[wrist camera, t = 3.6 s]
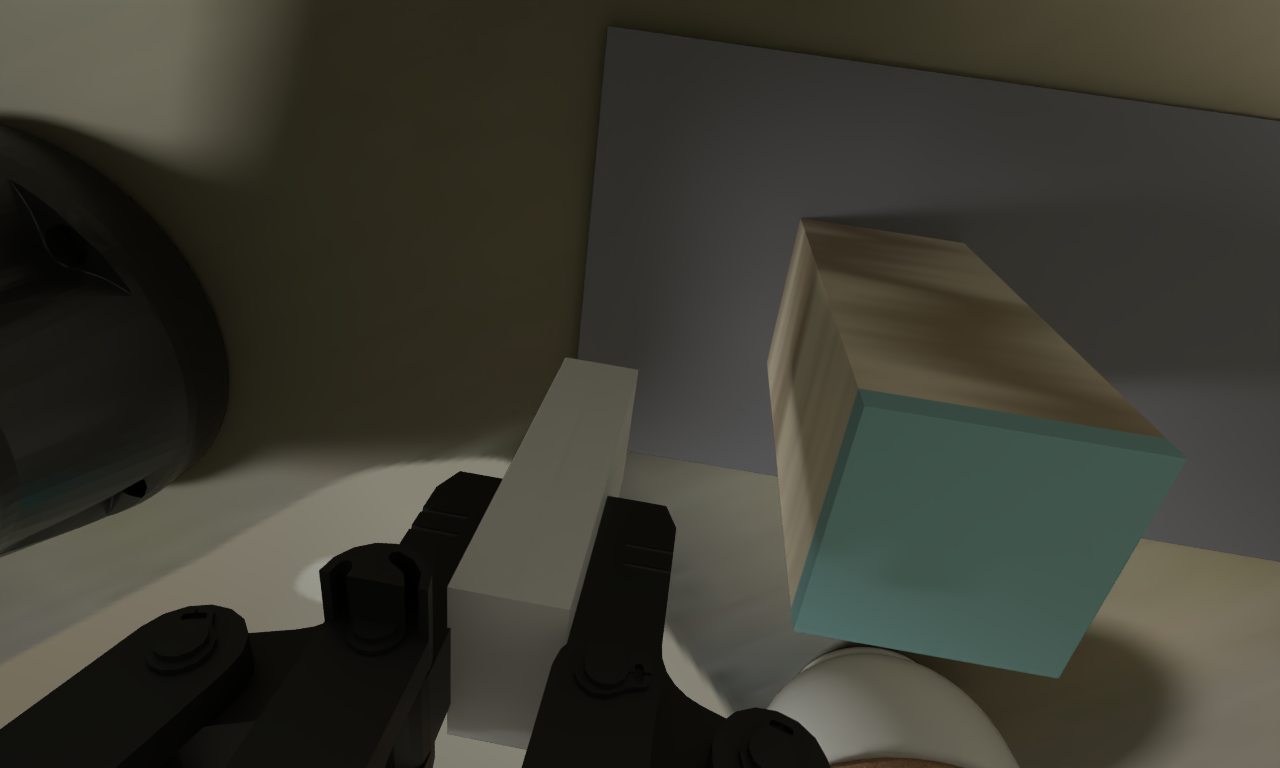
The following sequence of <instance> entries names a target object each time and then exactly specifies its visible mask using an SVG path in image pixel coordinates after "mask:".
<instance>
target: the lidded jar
mask: <svg viewBox="0 0 1280 768" xmlns="http://www.w3.org/2000/svg"><path fill="white" fill-rule="evenodd" d="M767 709H768V710H774V711H778V712H780V713H782V714H784V715H786V716H788V717H790V718H792V719H794V720H796V721H798V722H799V723H800V724H801V725H802V726H803V727H804V728H806V729H807V730H808V731H809V732H810V733H811V734H812V735H813V736H814V737H815V738H816V740H817V741H818V743H819V745H820V747H821V748H822V750H823V752H824V754H825V755H826V757H827V759H828V762H829V765H830V767H831V768H1020V767H1019V765H1018V763H1017V761H1016V759H1015V757H1014V756H1013V754H1012V752H1011V750H1010V748H1009V747H1008V745H1007V744H1006V742H1005V740H1004V739H1003V737H1002V736H1001V734H1000V733H999V731H998V730H997V728H996V727H995V725H994V724H993V722H992V721H991V720H990V718H989V717H988V716H987V715H986V713H985V712H984V711H983V710H982V709H981V708H980V707H979V706H978V705H977V704H976V703H975V702H974V701H973V700H972V699H971V698H970V697H969V696H968V694H967V693H966V692H964V691H963V690H961V689H960V688H959V687H957V686H956V685H955V684H953V683H952V682H951V681H949V680H948V679H947V678H945V677H944V676H943V675H941V674H939V673H937V672H935V671H933V670H931V669H929V668H927V667H925V666H923V665H921V664H918V663H916V662H915V661H913V660H912V659H910V658H908V657H906V656H905V655H903V654H900V653H897V652H894V651H891V650H887V649H883V648H876V647H850V648H844V649H839V650H835V651H832V652H829V653H826V654H824V655H822V656H820V657H818V658H816V659H815V660H813V661H812V662H810V663H809V664H808V665H807V666H806V667H805V668H803V669H802V671H801V672H800V673H799V674H798V675H797V676H795V677H794V678H793V679H792V680H791V681H789V682H788V683H787V684H786V685H785V686H784V687H783V688H782V689H781V690H780V691H779V693H778V694H777V695H776V697H775V698H774V699H773V701H772V702H771V704H770V705H769V706H768V708H767Z"/></svg>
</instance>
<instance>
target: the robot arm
mask: <svg viewBox="0 0 1280 768" xmlns="http://www.w3.org/2000/svg"><path fill="white" fill-rule="evenodd" d="M637 377H638V370H637V369H631V368H625V367H619V366H614V365H608V364H602V363H596V362H590V361H584V360H578V359H572V358H566V357H565V359H564V361H563V363H562V365H561V367H560V369H559V371H558V373H557V375H556V377H555V379H554V381H553V382H552V384H551V386H550V388H549V390H548V392H547V394H546V396H545V398H544V400H543V402H542V404H541V406H540V408H539V410H538V412H537V414H536V416H535V417H534V419H533V421H532V423H531V425H530V427H529V429H528V431H527V433H526V435H525V437H524V439H523V441H522V443H521V445H520V447H519V449H518V450H517V452H516V454H515V456H514V458H513V460H512V462H511V464H510V466H509V468H508V470H507V472H506V474H505V476H504V478H503V479H501V478H495V477H490V476H483V475H479V474H473V473H467V472H462V471H460V472H458V473H456V474H455V475H454V476H452V477H451V478H449V479H448V480H446V481H445V482H443V483H442V484H440V485H439V486H437V487H436V489H435V490H434V492H433V493H432V495H431V496H430V498H429V499H428V501H427V502H426V504H425V505H424V507H423V511H422V512H420V513H419V515H418V516H417V518H416V519H415V521H414V522H413V524H412V528H411V529H409V530H408V532H407V533H406V535H405V536H404V538H403V539H402V541H401V542H400V544H388V543H373V544H368V545H363V546H359V547H354V548H352V549H350V550H348V551H345V552H343V553H341V554H339V555H337V556H335V557H333V558H332V559H331V560H330V561H329V562H328V563H327V564H326V565H325V566H324V567H323V568H321V569H320V570H319V574H320V583H321V591H322V600H323V609H324V618H325V622H324V623H323V624H320V625H317V626H315V627H309V628H302V629H296V630H284V631H271V632H259V633H248V630H247V627H246V623H245V620H244V618H242V617H241V616H240V615H238V614H237V613H236V612H235V611H233V610H232V609H229V608H224V607H220V606H216V605H201V606H188V607H185V608H181V609H178V610H175V611H172V612H168V613H165V614H163V615H161V616H159V617H158V618H156V619H154V620H152V621H150V622H149V623H147V624H145V625H143V626H142V627H140V628H139V629H137V630H136V631H135V632H133V633H132V634H131V635H129V636H128V637H126V638H125V639H124V640H122V641H121V642H119V643H118V644H117V645H115V646H114V647H113V648H111V649H110V650H109V651H107V652H106V653H104V654H103V655H102V656H100V657H99V658H97V659H96V660H95V661H93V662H92V663H91V664H89V665H88V666H87V667H85V668H84V669H82V670H81V671H80V672H78V673H77V674H75V675H74V676H73V677H71V678H70V679H69V680H67V681H66V682H65V683H63V684H62V685H60V686H59V687H58V688H56V689H55V690H53V691H52V692H51V693H49V694H48V695H47V696H45V697H44V698H43V699H41V700H40V701H38V702H37V703H36V704H34V705H33V706H32V707H30V708H29V709H27V710H26V711H25V712H23V713H22V714H21V715H19V716H18V717H16V718H15V719H14V720H12V721H11V722H10V723H8V724H7V725H6V726H4V727H3V728H2V729H0V768H433V764H434V758H435V744H434V743H435V740H436V737H437V735H438V732H439V730H440V728H441V725H442V723H443V721H444V718H445V716H446V713H447V733H448V734H450V735H455V736H460V737H465V738H470V739H475V740H480V741H485V742H490V743H495V744H500V745H505V746H510V747H515V748H520V749H525V750H527V751H526V755H525V758H524V762H523V765H522V768H831V767H830V765H829V762H828V759H827V757H826V755H825V754H824V752H823V750H822V748H821V747H820V745H819V743H818V741H817V740H816V738H815V737H814V736H813V735H812V734H811V733H810V732H809V731H808V730H807V729H806V728H804V727H803V726H802V725H801V724H800V723H799V722H798V721H796V720H794V719H792V718H790V717H788V716H786V715H784V714H782V713H780V712H778V711H774V710H768V709H761V708H751V709H746V710H741V711H737V712H735V713H733V714H732V715H731V716H729V717H728V718H727V719H726V718H724V717H722V716H720V715H718V714H716V713H714V712H712V711H710V710H708V709H707V708H705V707H703V706H701V705H699V704H698V703H696V702H694V701H693V700H691V699H690V698H688V697H687V696H686V695H685V694H684V693H683V692H682V691H681V690H679V688H678V687H677V686H676V685H675V684H674V683H673V681H672V680H671V678H670V677H669V675H668V673H667V672H666V668H665V665H664V663H663V659H662V641H663V632H664V624H665V616H666V608H667V600H668V591H669V583H670V574H671V567H672V558H673V550H674V542H675V534H676V527H675V524H674V522H673V520H672V518H671V516H670V513H669V511H668V509H667V507H666V506H663V505H657V504H651V503H646V502H640V501H635V500H629V499H624V498H619V494H620V490H621V486H622V482H623V476H624V469H625V462H626V454H627V447H628V440H629V433H630V426H631V419H632V412H633V405H634V398H635V391H636V384H637ZM227 395H228V374H227V364H226V357H225V352H224V347H223V343H222V339H221V336H220V332H219V329H218V326H217V323H216V321H215V318H214V315H213V313H212V311H211V308H210V306H209V304H208V301H207V299H206V297H205V295H204V293H203V291H202V289H201V287H200V286H199V284H198V282H197V280H196V279H195V277H194V275H193V274H192V272H191V270H190V269H189V267H188V266H187V264H186V263H185V261H184V260H183V258H182V257H181V256H180V254H179V253H178V251H177V250H176V249H175V247H174V246H173V245H172V243H171V242H170V241H169V240H168V239H167V237H166V236H165V235H164V234H163V232H162V231H161V230H160V229H159V228H158V227H157V226H156V225H155V223H154V222H153V221H152V220H151V219H150V218H149V217H148V216H147V215H146V214H145V213H144V212H143V211H142V210H141V209H140V208H139V207H138V206H137V205H136V204H135V203H134V202H133V201H132V200H131V199H129V198H128V197H127V196H126V195H125V194H124V193H123V192H122V191H120V190H119V189H118V188H117V187H115V186H114V185H113V184H112V183H110V182H109V181H108V180H107V179H105V178H104V177H103V176H101V175H100V174H99V173H97V172H96V171H94V170H93V169H92V168H90V167H89V166H87V165H85V164H84V163H82V162H81V161H79V160H78V159H76V158H75V157H73V156H71V155H69V154H67V153H66V152H64V151H62V150H60V149H59V148H57V147H55V146H53V145H51V144H49V143H47V142H44V141H42V140H40V139H38V138H35V137H33V136H31V135H28V134H26V133H23V132H20V131H17V130H15V129H12V128H9V127H5V126H2V125H0V557H3V556H6V555H8V554H11V553H14V552H16V551H19V550H21V549H24V548H27V547H29V546H32V545H35V544H37V543H40V542H43V541H45V540H48V539H51V538H53V537H56V536H58V535H61V534H64V533H66V532H69V531H72V530H74V529H77V528H80V527H82V526H85V525H87V524H90V523H92V522H95V521H98V520H100V519H102V518H104V517H107V516H110V515H113V514H117V513H119V512H121V511H124V510H126V509H129V508H131V507H134V506H136V505H138V504H140V503H142V502H143V501H145V500H147V499H149V498H150V497H152V496H153V495H155V494H156V493H158V492H159V491H161V490H162V489H163V488H164V487H166V486H167V485H168V484H169V483H171V482H172V481H173V480H174V479H175V478H177V477H178V476H179V475H180V474H182V473H183V472H184V471H185V470H186V469H188V468H189V467H190V466H191V465H192V464H194V463H195V462H196V461H197V460H198V459H199V458H200V457H201V456H202V455H203V454H204V453H205V452H206V451H207V449H208V448H209V447H210V445H211V444H212V442H213V440H214V439H215V437H216V435H217V433H218V431H219V429H220V426H221V423H222V420H223V417H224V413H225V409H226V403H227Z"/></svg>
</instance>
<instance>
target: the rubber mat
mask: <svg viewBox="0 0 1280 768" xmlns="http://www.w3.org/2000/svg"><path fill="white" fill-rule="evenodd" d="M800 218H804V219H810V220H817V221H823V222H830V223H836V224H843V225H849V226H856V227H862V228H869V229H876V230H882V231H889V232H895V233H902V234H908V235H915V236H921V237H928V238H935V239H941V240H948V241H954V242H961V243H964V244H965V245H966V246H968V247H969V248H970V249H971V250H972V251H973V252H974V253H975V254H976V255H977V256H978V257H979V258H980V259H981V260H982V261H983V262H984V263H985V264H986V265H987V266H988V267H989V268H990V269H991V270H992V271H993V272H994V273H995V274H997V275H998V276H999V277H1000V278H1001V279H1002V280H1003V281H1004V282H1005V283H1006V284H1007V285H1008V286H1009V287H1010V288H1011V289H1012V290H1013V291H1014V292H1015V293H1016V294H1017V295H1018V296H1019V297H1020V298H1021V299H1022V300H1023V301H1024V302H1026V303H1027V304H1028V305H1029V306H1030V307H1031V308H1032V309H1033V310H1034V311H1035V312H1036V313H1037V314H1038V315H1039V316H1040V317H1041V318H1042V319H1043V320H1044V321H1045V322H1046V323H1047V324H1048V325H1049V326H1050V327H1051V328H1052V329H1053V330H1054V331H1056V332H1057V333H1058V334H1059V335H1060V336H1061V337H1062V338H1063V339H1064V340H1065V341H1066V342H1067V343H1068V344H1069V345H1070V346H1071V347H1072V348H1073V349H1074V350H1075V351H1076V352H1077V353H1078V354H1079V355H1080V356H1081V357H1082V358H1083V359H1085V360H1086V361H1087V362H1088V363H1089V364H1090V365H1091V366H1092V367H1093V368H1094V369H1095V370H1096V371H1097V372H1098V373H1099V374H1100V375H1101V376H1102V377H1103V378H1104V379H1105V380H1106V381H1107V382H1108V383H1109V384H1110V385H1111V386H1112V387H1114V388H1115V389H1116V390H1117V391H1118V392H1119V393H1120V394H1121V395H1122V396H1123V397H1124V398H1125V399H1126V400H1127V401H1128V402H1129V403H1130V404H1131V405H1132V406H1133V407H1134V408H1135V409H1136V410H1137V411H1138V412H1139V413H1140V414H1141V415H1143V416H1144V417H1145V418H1146V419H1147V420H1148V421H1149V422H1150V423H1151V424H1152V425H1153V426H1154V427H1155V428H1156V429H1157V430H1158V431H1159V432H1160V433H1161V434H1162V435H1163V436H1164V437H1165V438H1166V439H1167V440H1168V441H1169V442H1170V443H1172V444H1173V445H1174V446H1175V447H1176V448H1177V449H1178V450H1179V451H1180V452H1181V453H1182V454H1183V455H1184V456H1185V457H1186V458H1187V461H1186V462H1185V464H1184V466H1183V467H1182V469H1181V471H1180V473H1179V474H1178V476H1177V478H1176V479H1175V481H1174V483H1173V485H1172V486H1171V488H1170V490H1169V491H1168V493H1167V495H1166V496H1165V498H1164V500H1163V502H1162V503H1161V505H1160V507H1159V508H1158V510H1157V512H1156V513H1155V515H1154V517H1153V519H1152V520H1151V522H1150V524H1149V525H1148V527H1147V529H1146V530H1145V532H1144V534H1143V536H1142V537H1141V538H1143V539H1149V540H1155V541H1161V542H1167V543H1172V544H1178V545H1184V546H1190V547H1196V548H1202V549H1208V550H1214V551H1220V552H1225V553H1231V554H1237V555H1243V556H1249V557H1255V558H1261V559H1267V560H1273V561H1278V562H1280V121H1276V120H1269V119H1262V118H1255V117H1248V116H1241V115H1234V114H1227V113H1220V112H1213V111H1206V110H1199V109H1191V108H1184V107H1177V106H1170V105H1163V104H1156V103H1149V102H1142V101H1135V100H1128V99H1121V98H1114V97H1107V96H1100V95H1093V94H1086V93H1079V92H1072V91H1065V90H1058V89H1050V88H1043V87H1036V86H1029V85H1022V84H1015V83H1008V82H1001V81H994V80H987V79H980V78H973V77H966V76H959V75H952V74H945V73H938V72H931V71H924V70H917V69H909V68H902V67H895V66H888V65H881V64H874V63H867V62H860V61H853V60H846V59H839V58H832V57H825V56H818V55H811V54H804V53H797V52H790V51H783V50H776V49H768V48H761V47H754V46H747V45H740V44H733V43H726V42H719V41H712V40H705V39H698V38H691V37H684V36H677V35H670V34H663V33H656V32H649V31H642V30H635V29H627V28H620V27H613V26H608V30H607V41H606V52H605V63H604V73H603V84H602V95H601V106H600V117H599V128H598V139H597V150H596V161H595V172H594V183H593V194H592V205H591V216H590V227H589V238H588V249H587V260H586V271H585V282H584V293H583V304H582V314H581V325H580V336H579V347H578V358H577V359H578V360H584V361H590V362H596V363H602V364H608V365H614V366H619V367H625V368H631V369H637V370H638V377H637V384H636V391H635V398H634V405H633V412H632V419H631V426H630V433H629V440H628V447H627V451H631V452H637V453H642V454H648V455H654V456H660V457H666V458H672V459H678V460H684V461H690V462H695V463H701V464H707V465H713V466H719V467H725V468H731V469H737V470H743V471H748V472H754V473H760V474H766V475H772V476H778V470H777V459H776V449H775V439H774V429H773V419H772V409H771V399H770V389H769V378H768V368H767V360H768V356H769V351H770V347H771V343H772V338H773V334H774V330H775V326H776V321H777V317H778V313H779V308H780V304H781V300H782V295H783V291H784V287H785V283H786V278H787V274H788V270H789V265H790V261H791V257H792V252H793V248H794V244H795V239H796V235H797V231H798V227H799V222H800Z"/></svg>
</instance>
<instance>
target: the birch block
mask: <svg viewBox="0 0 1280 768" xmlns="http://www.w3.org/2000/svg"><path fill="white" fill-rule="evenodd" d="M767 368H768V378H769V389H770V399H771V409H772V419H773V429H774V439H775V449H776V459H777V470H778V480H779V490H780V500H781V510H782V520H783V530H784V540H785V550H786V561H787V571H788V581H789V591H790V601H791V611H792V621H793V631H796V632H801V633H807V634H812V635H818V636H823V637H829V638H835V639H840V640H846V641H851V642H857V643H862V644H868V645H874V646H879V647H885V648H890V649H896V650H901V651H907V652H912V653H918V654H924V655H929V656H935V657H940V658H946V659H951V660H957V661H963V662H968V663H974V664H979V665H985V666H990V667H996V668H1001V669H1007V670H1013V671H1018V672H1024V673H1029V674H1035V675H1040V676H1046V677H1052V678H1057V679H1059V677H1060V675H1061V673H1062V672H1063V670H1064V668H1065V667H1066V665H1067V663H1068V662H1069V660H1070V658H1071V656H1072V655H1073V653H1074V651H1075V650H1076V648H1077V646H1078V645H1079V643H1080V641H1081V639H1082V638H1083V636H1084V634H1085V633H1086V631H1087V629H1088V627H1089V626H1090V624H1091V622H1092V621H1093V619H1094V617H1095V616H1096V614H1097V612H1098V610H1099V609H1100V607H1101V605H1102V604H1103V602H1104V600H1105V599H1106V597H1107V595H1108V593H1109V592H1110V590H1111V588H1112V587H1113V585H1114V583H1115V582H1116V580H1117V578H1118V576H1119V575H1120V573H1121V571H1122V570H1123V568H1124V566H1125V565H1126V563H1127V561H1128V559H1129V558H1130V556H1131V554H1132V553H1133V551H1134V549H1135V547H1136V546H1137V544H1138V542H1139V541H1140V539H1141V537H1142V536H1143V534H1144V532H1145V530H1146V529H1147V527H1148V525H1149V524H1150V522H1151V520H1152V519H1153V517H1154V515H1155V513H1156V512H1157V510H1158V508H1159V507H1160V505H1161V503H1162V502H1163V500H1164V498H1165V496H1166V495H1167V493H1168V491H1169V490H1170V488H1171V486H1172V485H1173V483H1174V481H1175V479H1176V478H1177V476H1178V474H1179V473H1180V471H1181V469H1182V467H1183V466H1184V464H1185V462H1186V461H1187V458H1186V457H1185V456H1184V455H1183V454H1182V453H1181V452H1180V451H1179V450H1178V449H1177V448H1176V447H1175V446H1174V445H1173V444H1172V443H1170V442H1169V441H1168V440H1167V439H1166V438H1165V437H1164V436H1163V435H1162V434H1161V433H1160V432H1159V431H1158V430H1157V429H1156V428H1155V427H1154V426H1153V425H1152V424H1151V423H1150V422H1149V421H1148V420H1147V419H1146V418H1145V417H1144V416H1143V415H1141V414H1140V413H1139V412H1138V411H1137V410H1136V409H1135V408H1134V407H1133V406H1132V405H1131V404H1130V403H1129V402H1128V401H1127V400H1126V399H1125V398H1124V397H1123V396H1122V395H1121V394H1120V393H1119V392H1118V391H1117V390H1116V389H1115V388H1114V387H1112V386H1111V385H1110V384H1109V383H1108V382H1107V381H1106V380H1105V379H1104V378H1103V377H1102V376H1101V375H1100V374H1099V373H1098V372H1097V371H1096V370H1095V369H1094V368H1093V367H1092V366H1091V365H1090V364H1089V363H1088V362H1087V361H1086V360H1085V359H1083V358H1082V357H1081V356H1080V355H1079V354H1078V353H1077V352H1076V351H1075V350H1074V349H1073V348H1072V347H1071V346H1070V345H1069V344H1068V343H1067V342H1066V341H1065V340H1064V339H1063V338H1062V337H1061V336H1060V335H1059V334H1058V333H1057V332H1056V331H1054V330H1053V329H1052V328H1051V327H1050V326H1049V325H1048V324H1047V323H1046V322H1045V321H1044V320H1043V319H1042V318H1041V317H1040V316H1039V315H1038V314H1037V313H1036V312H1035V311H1034V310H1033V309H1032V308H1031V307H1030V306H1029V305H1028V304H1027V303H1026V302H1024V301H1023V300H1022V299H1021V298H1020V297H1019V296H1018V295H1017V294H1016V293H1015V292H1014V291H1013V290H1012V289H1011V288H1010V287H1009V286H1008V285H1007V284H1006V283H1005V282H1004V281H1003V280H1002V279H1001V278H1000V277H999V276H998V275H997V274H995V273H994V272H993V271H992V270H991V269H990V268H989V267H988V266H987V265H986V264H985V263H984V262H983V261H982V260H981V259H980V258H979V257H978V256H977V255H976V254H975V253H974V252H973V251H972V250H971V249H970V248H969V247H968V246H966V245H965V244H964V243H961V242H954V241H948V240H941V239H935V238H928V237H921V236H915V235H908V234H902V233H895V232H889V231H882V230H876V229H869V228H862V227H856V226H849V225H843V224H836V223H830V222H823V221H817V220H810V219H804V218H800V222H799V227H798V231H797V235H796V239H795V244H794V248H793V252H792V257H791V261H790V265H789V270H788V274H787V278H786V283H785V287H784V291H783V295H782V300H781V304H780V308H779V313H778V317H777V321H776V326H775V330H774V334H773V338H772V343H771V347H770V351H769V356H768V360H767Z"/></svg>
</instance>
